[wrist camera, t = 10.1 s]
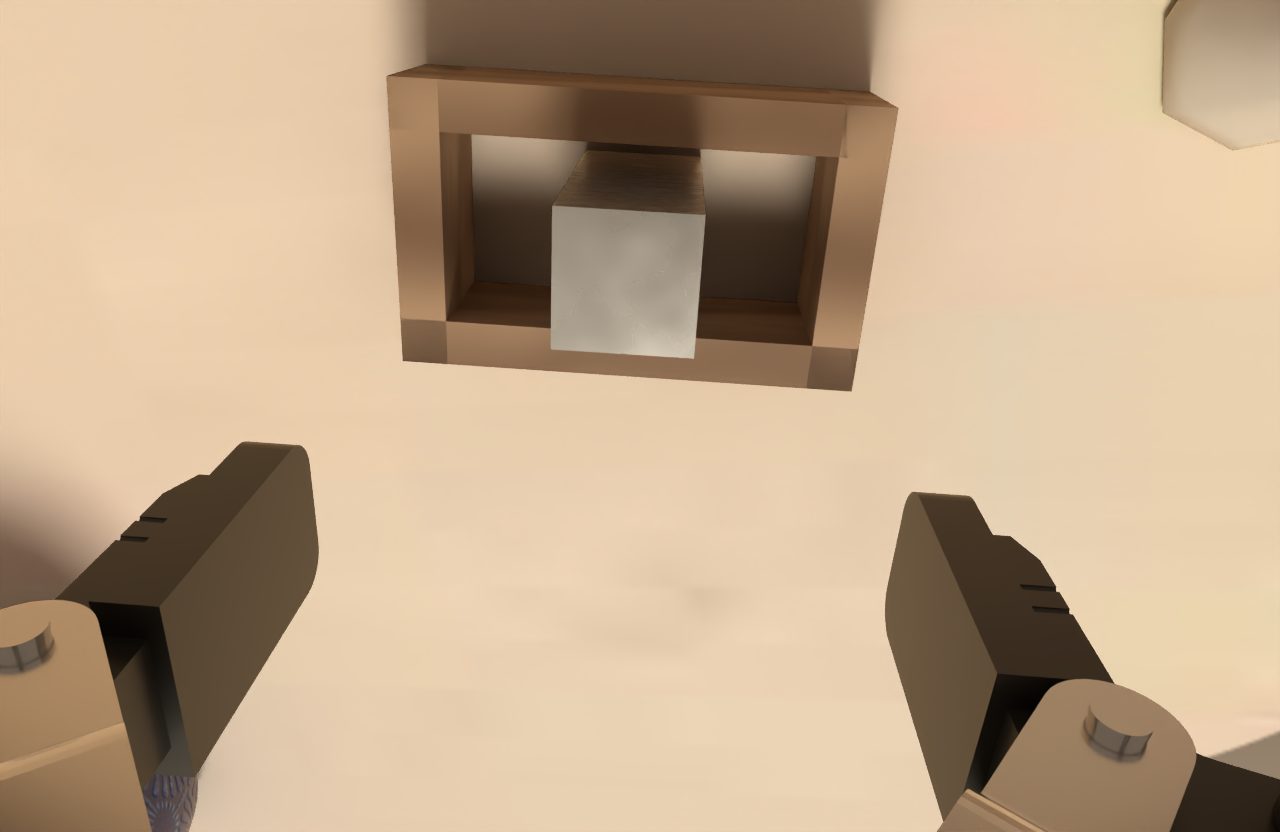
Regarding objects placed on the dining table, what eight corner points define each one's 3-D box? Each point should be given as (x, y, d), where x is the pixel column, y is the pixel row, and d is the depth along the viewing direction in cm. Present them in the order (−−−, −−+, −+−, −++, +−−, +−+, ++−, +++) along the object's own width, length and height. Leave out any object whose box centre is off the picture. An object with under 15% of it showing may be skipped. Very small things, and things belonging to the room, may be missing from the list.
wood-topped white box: (586, 150, 32) (552, 205, 24) (700, 156, 32) (705, 215, 24) (583, 261, 34) (550, 349, 26) (692, 268, 34) (694, 358, 26)
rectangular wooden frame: (425, 64, 31) (386, 76, 27) (870, 92, 31) (898, 107, 27) (435, 317, 35) (402, 361, 31) (831, 343, 35) (851, 391, 31)
